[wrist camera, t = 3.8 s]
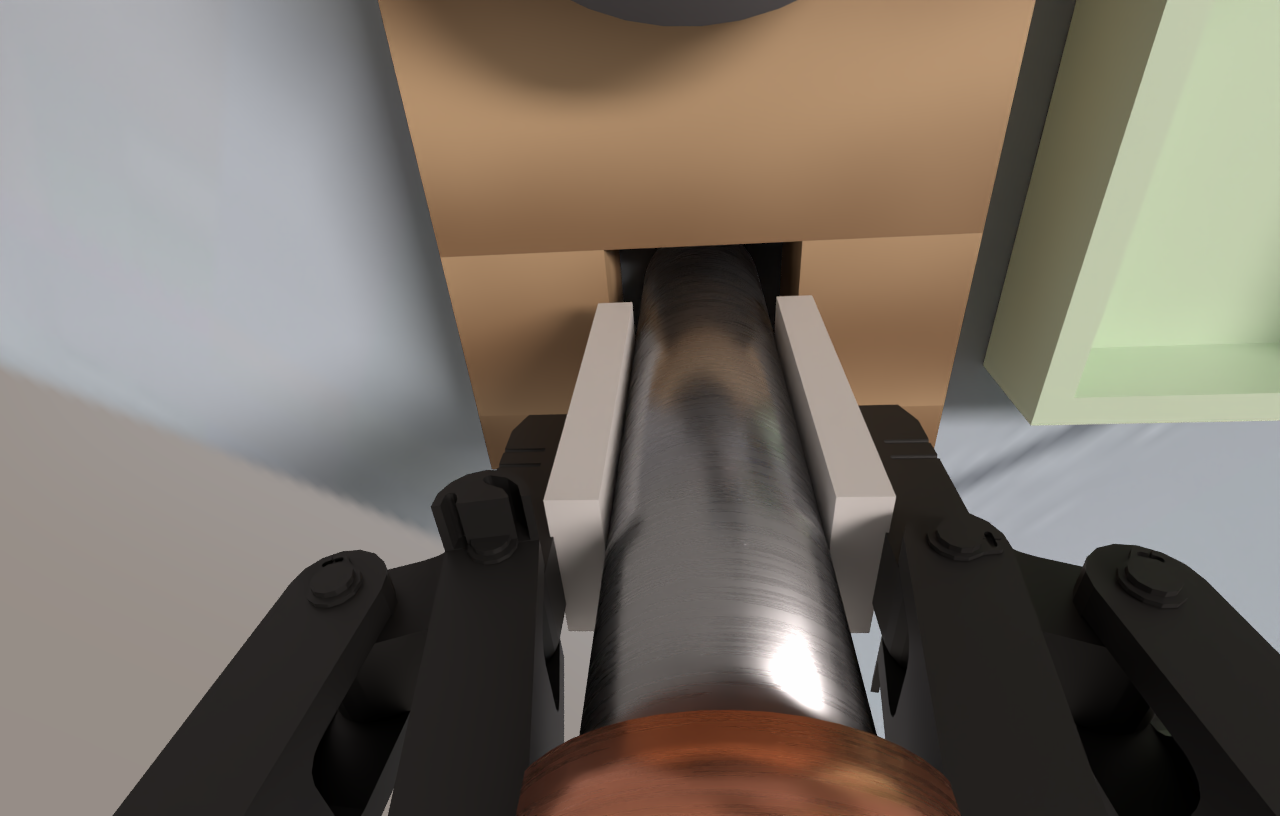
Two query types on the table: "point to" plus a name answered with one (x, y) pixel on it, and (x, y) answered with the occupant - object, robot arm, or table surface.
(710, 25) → the block
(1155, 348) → the tray
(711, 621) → the lock pin
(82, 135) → the table surface
